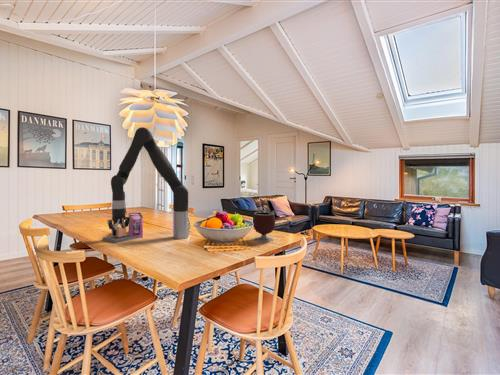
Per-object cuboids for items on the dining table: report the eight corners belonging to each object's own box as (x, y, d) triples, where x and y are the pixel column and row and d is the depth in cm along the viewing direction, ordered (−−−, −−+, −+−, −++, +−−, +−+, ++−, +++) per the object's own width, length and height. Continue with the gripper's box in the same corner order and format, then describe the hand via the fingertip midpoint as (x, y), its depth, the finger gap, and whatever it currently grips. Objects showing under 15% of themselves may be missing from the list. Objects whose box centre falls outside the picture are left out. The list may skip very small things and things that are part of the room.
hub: (119, 234, 173) (119, 227, 173) (126, 235, 170) (126, 228, 169) (111, 235, 168) (111, 228, 168) (118, 237, 165) (118, 229, 165)
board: (121, 236, 178) (121, 224, 178) (134, 238, 172) (134, 226, 171) (102, 240, 167) (102, 227, 166) (115, 243, 160) (115, 230, 160)
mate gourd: (248, 240, 173) (249, 208, 172) (260, 236, 185) (260, 206, 184) (270, 244, 165) (270, 211, 164) (280, 239, 176) (281, 208, 175)
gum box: (143, 238, 174) (143, 217, 173) (129, 239, 170) (129, 218, 170) (140, 231, 195) (140, 212, 195) (128, 232, 192) (128, 212, 191)
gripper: (125, 205, 176) (125, 232, 177) (103, 208, 164) (104, 236, 165) (132, 206, 172) (133, 233, 173) (111, 209, 160) (111, 238, 161)
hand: (118, 234), depth 169 cm, fingers closed on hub, 5 cm apart
